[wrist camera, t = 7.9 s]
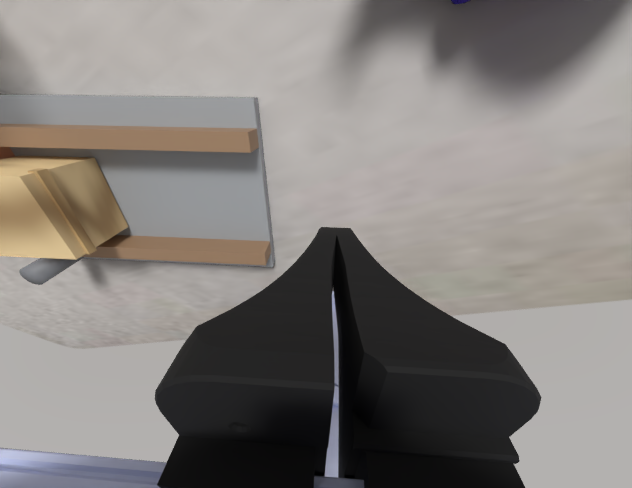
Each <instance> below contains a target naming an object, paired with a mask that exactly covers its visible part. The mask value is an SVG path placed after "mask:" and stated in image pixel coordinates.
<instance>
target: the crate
mask: <svg viewBox="0 0 632 488" xmlns="http://www.w3.org/2000/svg"><path fill="white" fill-rule="evenodd" d="M127 227H128V225H127V222H126V220H125V218H124V216H123V214H122V212H121V210H120V208H119V206H118V204H117V202H116V200H115V198H114V196H113V194H112V192H111V190H110V188H109V186H108V184H107V182H106V180H105V178H104V176H103V174H102V172H101V170H100V168H99V165H98V163H97V161H96V159H95V158H93V157H54V156H17V157H11V158H6V159H0V256H12V257H33V258H54V259H75V260H77V259H78V258H80V257H82V256H83V255H85V254H91V253H93V252H94V251H96V250H97V249H96V247H97V246H99V245H100V244H102V243H104V242H105V241H107V240H108V239H110V238H112V237H113V236H115V235H116V234H118V233H119V232H121V231H123V230H124V229H126V228H127Z"/></svg>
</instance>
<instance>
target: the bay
mask: <svg viewBox="0 0 632 488" xmlns="http://www.w3.org/2000/svg"><path fill="white" fill-rule="evenodd" d="M17 156H54V157H93V158H95V159H96V161H97V163H98V165H99V168H100V170H101V172H102V174H103V176H104V178H105V180H106V182H107V184H108V186H109V188H110V190H111V192H112V194H113V196H114V198H115V200H116V202H117V204H118V206H119V208H120V210H121V212H122V214H123V216H124V218H125V220H126V222H127V225H128V227H127V228H126V229H124V230H123V231H121V232H119V233H118V234H116V235H115V236H113V237H112V238H110V239H108V240H107V241H105V242H104V243H102V244H100V245H99V246H97V247H96V249H97V250H96V251H94V252H93V253H91V254H85V255H83V256H82V257H80V258H78V259H77V260H75V259H54V258H40V259H38V260H36V261H35V262H33V263H31V264H29V265H27V266H26V267H24V268H22V269H20V274H21V276H22V277H23V278H24V279H26V280H27V281H29V282H31V283H34V284H38V285H40V284H43V283H45V282H46V281H48V280H49V279H51V278H53V277H54V276H56V275H57V274H59V273H60V272H62V271H63V270H65V269H67V268H68V267H70V266H71V265H73V264H74V263H76V262H77V261H79V260H81V259H82V258H86V259H108V260H129V261H150V262H172V263H193V264H215V265H236V266H257V267H273V266H274V263H275V255H274V246H273V236H272V227H271V218H270V208H269V199H268V190H267V181H266V171H265V162H264V153H263V143H262V134H261V125H260V116H259V106H258V98H254V97H175V96H95V95H16V94H0V159H6V158H11V157H17Z"/></svg>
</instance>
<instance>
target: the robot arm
mask: <svg viewBox="0 0 632 488" xmlns="http://www.w3.org/2000/svg"><path fill="white" fill-rule="evenodd" d="M333 289H334V291H332V290H333ZM155 401H156V404H157V406H158V407H159V410H160V411H161V413H162V414H163V415H164V417H166V419H167V420H168V421H169V422H170V424H171V425H172V426H173V428H174V429H175V430H176V431H177V433H178V434H179V437H178V439H177V441H176V444H175V446H174V448H173V450H172V452H171V455H170V457H169V459H168V461H167V463H166V462H155V461H144V460H132V459H120V458H109V457H98V456H87V455H75V454H64V453H53V452H42V451H30V450H18V449H8V448H0V488H525V486H524V484H523V482H522V480H521V478H520V476H519V474H518V472H517V470H516V468H515V466H514V464H516V463H518V462H519V456H518V454H517V452H516V450H515V448H514V446H513V444H512V442H511V440H510V438H509V436H511V435H512V434H513V433H514V432H515V431H517V430H518V429H519V428H520V427H522V426H523V425H524V424H525V423H526V422H528V421H529V420H530V419H531V418H532V417H533V416H534V415H535V414H536V413H537V411H538V409H539V405H540V401H541V396H540V394H539V392H538V390H537V388H536V387H535V385H534V384H533V382H532V381H531V379H530V378H529V377H528V375H527V374H526V372H525V371H524V369H523V368H522V367H521V365H520V364H519V362H518V361H517V359H516V358H515V357H514V355H513V354H512V353H511V351H510V350H509V349H508V347H507V346H506V345H505V344H504V343H502V342H500V341H498V340H496V339H494V338H492V337H490V336H488V335H486V334H484V333H482V332H480V331H478V330H476V329H474V328H472V327H470V326H468V325H466V324H464V323H462V322H460V321H458V320H457V319H455V318H453V317H452V316H450V315H448V314H447V313H445V312H443V311H441V310H440V309H438V308H436V307H435V306H433V305H432V304H430V303H428V302H427V301H425V300H424V299H422V298H421V297H419V296H418V295H417V294H415V293H414V292H412V291H411V290H409V289H408V288H407V287H405V286H404V285H403V284H401V283H400V282H399V281H398V280H397V279H395V278H394V277H393V276H392V275H391V274H389V273H388V272H387V271H386V270H385V269H384V268H383V267H382V266H381V265H380V264H379V263H378V262H377V261H376V260H375V259H374V258H373V257H372V256H371V254H370V253H369V252H368V251H367V250H366V249H365V247H364V246H363V245H362V243H361V242H360V241H359V240H358V238H357V237H356V235H355V234H354V232H353V231H352V230H351V229H350V228H330V227H321V228H320V229H319V231H318V233H317V235H316V236H315V238H314V239H313V241H312V242H311V244H310V245H309V246H308V248H307V249H306V250H305V252H304V253H303V254H302V255H301V256H300V257H299V259H298V260H297V261H296V262H295V263H294V264H293V265H292V266H291V267H290V268H289V269H288V270H287V271H286V272H285V273H284V274H283V275H281V276H280V277H279V278H278V279H277V280H275V281H274V282H273V283H272V284H270V285H269V286H268V287H266V288H265V289H264V290H262V291H261V292H259V293H258V294H256V295H255V296H253V297H251V298H250V299H248V300H246V301H245V302H243V303H241V304H240V305H238V306H236V307H234V308H233V309H231V310H229V311H227V312H225V313H223V314H221V315H219V316H217V317H215V318H213V319H211V320H209V321H207V322H205V323H203V324H201V325H199V326H197V327H196V328H195V330H194V331H193V332H192V334H191V335H190V336H189V338H188V339H187V340H186V342H185V343H184V345H183V346H182V348H181V349H180V351H179V353H178V354H177V356H176V358H175V359H174V361H173V363H172V364H171V366H170V368H169V369H168V371H167V373H166V374H165V376H164V378H163V379H162V381H161V383H160V384H159V386H158V388H157V389H156V392H155ZM513 463H514V464H513Z"/></svg>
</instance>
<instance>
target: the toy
mask: <svg viewBox="0 0 632 488" xmlns="http://www.w3.org/2000/svg"><path fill="white" fill-rule="evenodd" d="M451 1H452V2H453V3H454V4H462V3H466V2H468V1H470V0H451Z"/></svg>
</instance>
